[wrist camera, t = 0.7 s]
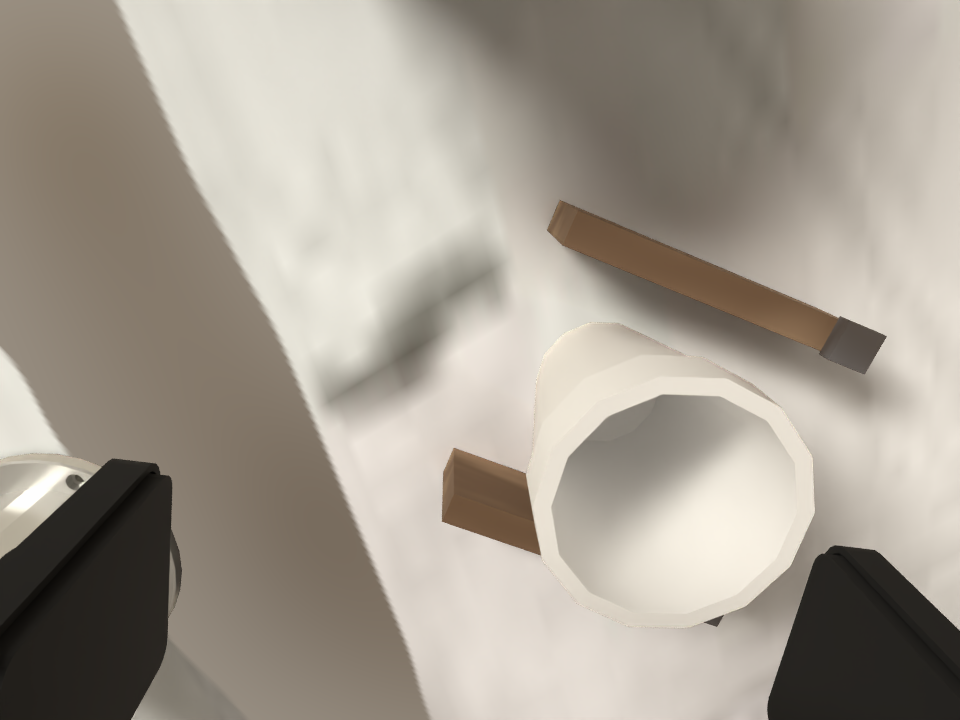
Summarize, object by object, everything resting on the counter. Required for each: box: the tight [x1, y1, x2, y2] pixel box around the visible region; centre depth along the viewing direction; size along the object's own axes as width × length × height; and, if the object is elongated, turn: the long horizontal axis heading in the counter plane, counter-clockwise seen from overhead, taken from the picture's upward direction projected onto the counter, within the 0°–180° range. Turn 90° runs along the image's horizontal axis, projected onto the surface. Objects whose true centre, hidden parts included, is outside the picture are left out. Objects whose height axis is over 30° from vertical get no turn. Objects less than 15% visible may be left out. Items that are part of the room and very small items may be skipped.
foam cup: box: [526, 322, 815, 628], centre depth 30 cm, size 10×9×13 cm
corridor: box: [442, 200, 887, 627], centre depth 33 cm, size 15×14×6 cm
